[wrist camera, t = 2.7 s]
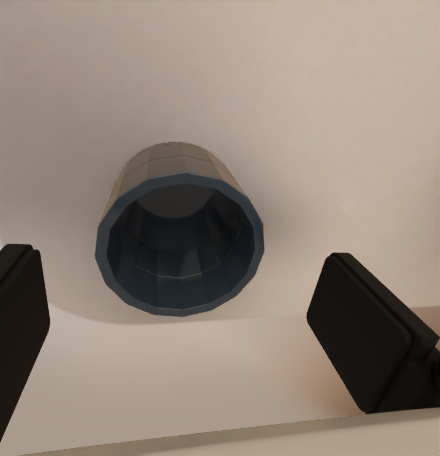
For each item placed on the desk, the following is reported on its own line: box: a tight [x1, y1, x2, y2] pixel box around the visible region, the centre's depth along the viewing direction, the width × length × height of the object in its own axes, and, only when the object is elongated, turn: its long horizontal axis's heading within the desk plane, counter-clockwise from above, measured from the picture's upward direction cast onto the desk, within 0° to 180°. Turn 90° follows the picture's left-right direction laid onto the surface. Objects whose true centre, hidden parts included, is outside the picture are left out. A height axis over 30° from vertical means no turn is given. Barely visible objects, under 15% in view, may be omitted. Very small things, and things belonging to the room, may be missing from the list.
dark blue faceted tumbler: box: [95, 142, 264, 317], centre depth 13 cm, size 6×6×5 cm
